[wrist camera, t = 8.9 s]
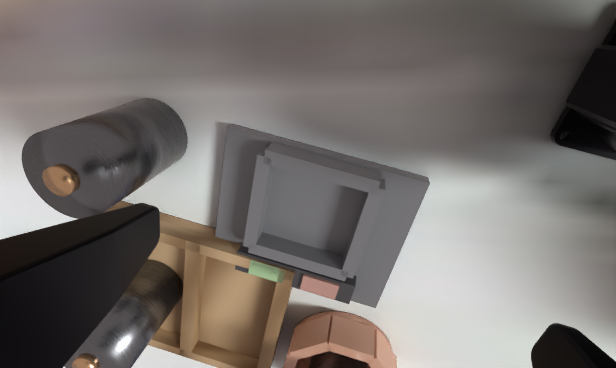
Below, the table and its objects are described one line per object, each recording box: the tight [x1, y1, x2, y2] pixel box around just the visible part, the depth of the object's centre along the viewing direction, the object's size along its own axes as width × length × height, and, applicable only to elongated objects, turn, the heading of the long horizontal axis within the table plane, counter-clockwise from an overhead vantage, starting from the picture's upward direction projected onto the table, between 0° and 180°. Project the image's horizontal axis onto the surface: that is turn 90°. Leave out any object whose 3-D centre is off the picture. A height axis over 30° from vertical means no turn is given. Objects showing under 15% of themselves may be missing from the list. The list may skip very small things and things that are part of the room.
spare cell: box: [22, 98, 187, 219], centre depth 18 cm, size 4×4×8 cm
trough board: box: [103, 201, 295, 368], centre depth 26 cm, size 14×12×2 cm
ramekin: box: [283, 311, 397, 368], centre depth 26 cm, size 8×8×3 cm
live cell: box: [65, 259, 183, 368], centre depth 23 cm, size 4×4×8 cm
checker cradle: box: [215, 124, 430, 308], centre depth 21 cm, size 12×10×2 cm
